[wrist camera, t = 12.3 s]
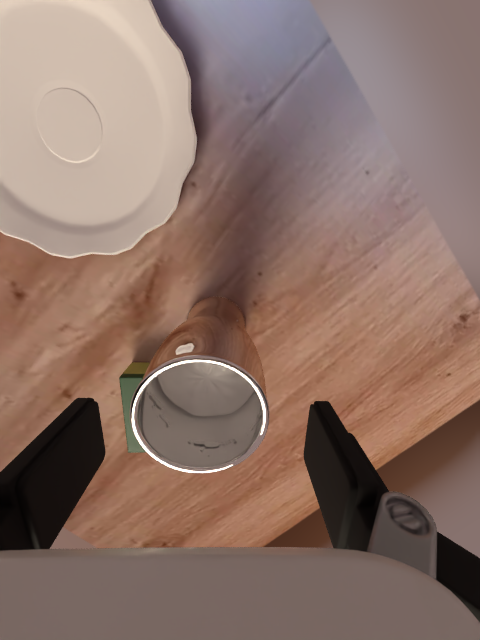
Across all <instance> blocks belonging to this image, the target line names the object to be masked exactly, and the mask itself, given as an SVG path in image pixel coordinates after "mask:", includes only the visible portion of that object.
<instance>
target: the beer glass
mask: <svg viewBox="0 0 480 640" xmlns="http://www.w3.org/2000/svg"><path fill="white" fill-rule="evenodd" d="M130 422H131V427H132V430H133V433H134V435H135V437H136V439H137V441H138V442H139V444H140V445H141V447H142V448H143V449H144V450H145V451H146V452H147V453H148V454H149V455H150V456H151V457H152V458H154V459H155V460H157V461H158V462H160V463H161V464H163V465H165V466H167V467H170V468H172V469H175V470H179V471H183V472H188V473H213V472H218V471H222V470H225V469H228V468H231V467H233V466H235V465H237V464H239V463H241V462H242V461H244V460H245V459H246V458H248V457H249V456H250V455H251V454H252V453H253V452H254V451H255V450H256V449H257V448H258V447H259V445H260V444H261V442H262V440H263V439H264V437H265V434H266V432H267V429H268V425H269V405H268V401H267V395H266V386H265V378H264V373H263V368H262V363H261V360H260V357H259V354H258V351H257V349H256V346H255V344H254V342H253V341H252V339H251V338H250V336H249V335H248V333H247V332H246V331H245V320H244V316H243V313H242V311H241V310H240V308H239V307H238V306H237V305H236V304H235V303H234V302H232V301H231V300H229V299H227V298H224V297H219V296H212V297H207V298H204V299H202V300H200V301H199V302H197V303H196V304H195V305H194V306H193V307H192V309H191V310H190V312H189V314H188V317H187V321H185V322H183V323H182V324H181V325H179V326H178V327H177V328H176V329H174V330H173V331H172V332H171V333H170V334H169V335H168V336H167V338H166V339H165V340H164V341H163V343H162V344H161V345H160V347H159V348H158V350H157V351H156V353H155V355H154V356H153V358H152V360H151V362H150V364H149V366H148V368H147V370H146V372H145V374H144V376H143V378H142V380H141V382H140V384H139V385H138V387H137V388H136V390H135V392H134V395H133V397H132V401H131V405H130Z"/></svg>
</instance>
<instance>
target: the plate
mask: <svg viewBox="0 0 480 640" xmlns="http://www.w3.org/2000/svg"><path fill="white" fill-rule="evenodd" d="M196 145H197V136H196V131H195V127H194V122H193V118H192V113H191V78H190V75H189V72H188V69H187V66H186V63H185V60H184V57H183V54H182V52H181V50H180V49H179V48H178V46H177V45H176V44H175V42H174V41H173V40H172V38H171V37H170V36H169V34H168V33H167V32H166V30H165V29H164V28H163V26H162V24H161V22H160V20H159V17H158V15H157V13H156V11H155V8H154V6H153V4H152V2H151V0H0V232H2V233H3V234H4V235H7V236H11V237H14V238H17V239H20V240H24V241H27V242H29V243H31V244H33V245H35V246H36V247H38V248H40V249H42V250H43V251H45V252H47V253H48V254H50V255H54V256H60V257H65V258H75V257H80V256H84V255H89V254H104V255H116V254H119V253H121V252H124V251H127V250H130V249H132V248H133V247H134V246H135V245H136V244H137V243H138V242H139V241H140V240H141V239H142V238H143V237H144V236H145V235H146V234H147V233H148V232H150V231H152V230H154V229H156V228H157V227H159V226H161V225H163V224H165V223H166V222H167V220H168V219H169V218H170V216H171V215H172V214H173V212H174V211H175V210H176V208H177V206H178V201H179V197H180V193H181V189H182V185H183V182H184V180H185V179H186V177H187V175H188V173H189V171H190V169H191V168H192V166H193V164H194V161H195V153H196Z"/></svg>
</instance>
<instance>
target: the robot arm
mask: <svg viewBox="0 0 480 640" xmlns="http://www.w3.org/2000/svg"><path fill="white" fill-rule="evenodd" d="M104 457H105V445H104V439H103V432H102V426H101V420H100V413H99V407H98V403H97V402H95V401H94V399H93V398H77V399H76V400H74V401H73V402H72V403H71V404H70V405H69V406H68V407H67V408H66V409H65V410H64V411H63V412H62V413H61V414H60V415H59V416H58V417H57V418H56V419H55V420H54V421H53V422H52V423H51V424H50V425H49V426H48V427H47V428H46V429H45V430H43V431H42V432H41V433H40V434H39V435H38V436H37V437H36V438H35V439H34V440H33V441H32V442H31V443H30V444H29V445H28V446H27V447H26V448H25V449H24V450H23V451H22V452H21V453H20V454H19V455H18V456H17V457H16V458H15V459H14V460H12V461H11V462H10V463H9V464H8V465H7V466H6V467H5V468H4V469H3V470H2V471H1V472H0V640H480V558H478V557H477V556H475V555H474V554H472V553H470V552H469V551H467V550H465V549H464V548H463V547H461V546H459V545H458V544H456V543H454V542H453V541H451V540H450V539H448V538H447V537H445V536H443V535H442V534H440V533H439V532H437V528H436V524H435V522H434V520H433V518H432V516H431V515H430V514H429V512H428V511H427V510H426V509H425V508H424V507H423V506H422V505H421V504H420V503H419V502H417V501H416V500H414V499H413V498H411V497H410V496H407V495H405V494H402V493H399V492H394V491H393V492H389V491H388V489H387V487H386V486H385V484H384V483H383V481H382V479H381V478H380V476H379V475H378V473H377V472H376V470H375V468H374V467H373V465H372V464H371V462H370V461H369V459H368V457H367V456H366V454H365V453H364V451H363V450H362V448H361V446H360V445H359V443H358V442H357V440H356V439H355V437H354V436H353V435H352V434H351V433H348V432H347V430H346V429H345V427H344V425H343V424H342V422H341V421H340V419H339V417H338V416H337V414H336V412H335V411H334V409H333V408H332V406H331V404H330V403H329V402H328V401H315V402H314V404H311V405H310V410H309V417H308V425H307V432H306V440H305V447H304V460H305V464H306V467H307V470H308V473H309V476H310V479H311V482H312V485H313V488H314V491H315V494H316V497H317V500H318V503H319V506H320V509H321V512H322V515H323V518H324V521H325V524H326V527H327V530H328V533H329V536H330V539H331V542H332V545H333V548H294V547H195V548H93V549H92V548H90V549H49V548H50V547H51V545H52V544H53V542H54V540H55V539H56V537H57V536H58V533H59V532H60V530H61V529H62V527H63V526H64V524H65V522H66V521H67V519H68V517H69V516H70V514H71V513H72V511H73V509H74V508H75V506H76V504H77V503H78V501H79V499H80V498H81V496H82V494H83V493H84V491H85V490H86V488H87V486H88V485H89V483H90V481H91V480H92V478H93V476H94V475H95V473H96V471H97V470H98V468H99V467H100V465H101V463H102V462H103V460H104Z"/></svg>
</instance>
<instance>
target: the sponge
mask: <svg viewBox="0 0 480 640" xmlns="http://www.w3.org/2000/svg"><path fill="white" fill-rule="evenodd" d="M149 364H150V363H142V362H132V363H131V364H130V365H129V367H128V368H127V369H126V370H125V371H124V373H123V374H122V375H121V376H120V378H119V379H120V387H121V396H122V404H123V413H124V421H125V429H126V438H127V446H128V452H129V453H131V452H146V451H145V450H144V449H143V448H142V447H141V445H140V444H139V442H138V441H137V439H136V437H135V435H134V433H133V430H132V427H131V422H130V405H131V401H132V397H133V395H134V392H135V390H136V388H137V387H138V385H139V384H140V382H141V380H142V378H143V376H144V374H145V372H146V370H147V368H148V366H149Z"/></svg>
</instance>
